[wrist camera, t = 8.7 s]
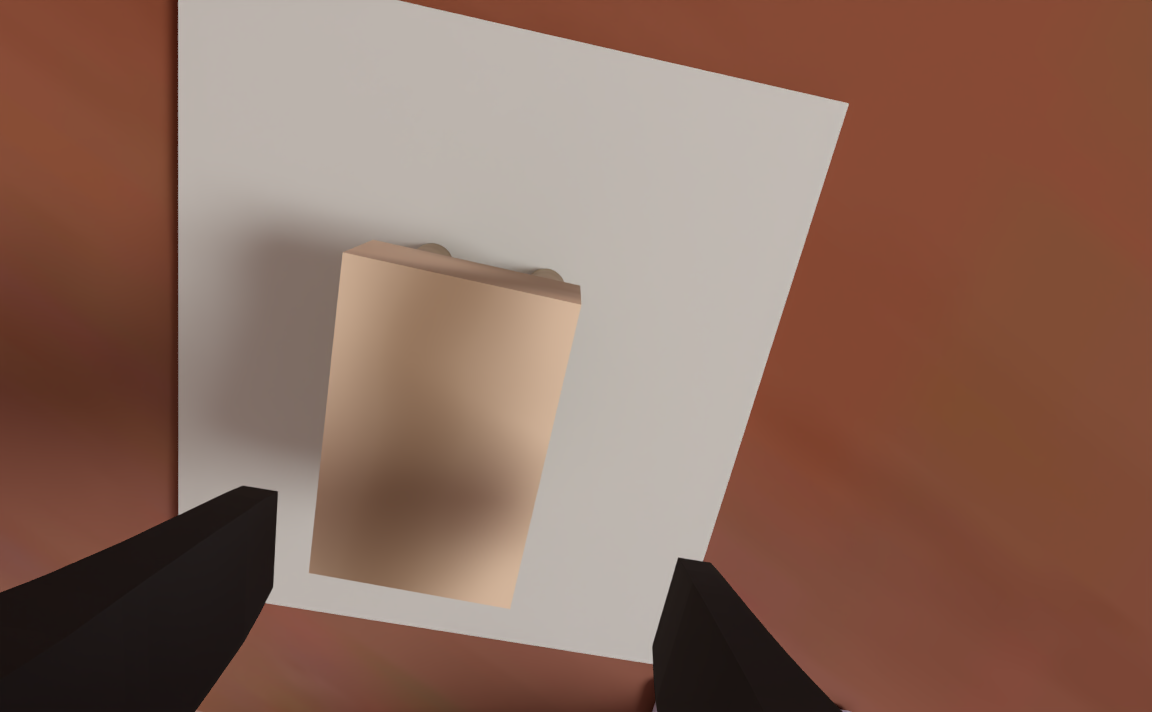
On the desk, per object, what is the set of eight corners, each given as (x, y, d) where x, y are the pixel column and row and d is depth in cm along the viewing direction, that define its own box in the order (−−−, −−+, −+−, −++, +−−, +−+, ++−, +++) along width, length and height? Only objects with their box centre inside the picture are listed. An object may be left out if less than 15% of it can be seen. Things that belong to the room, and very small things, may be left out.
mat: (667, 656, 23) (669, 666, 23) (187, 580, 22) (178, 589, 21) (841, 105, 17) (848, 103, 17) (189, -44, 16) (178, -50, 15)
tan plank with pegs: (578, 261, 18) (581, 304, 13) (525, 493, 20) (509, 608, 15) (410, 223, 18) (342, 252, 12) (377, 464, 20) (308, 573, 15)
